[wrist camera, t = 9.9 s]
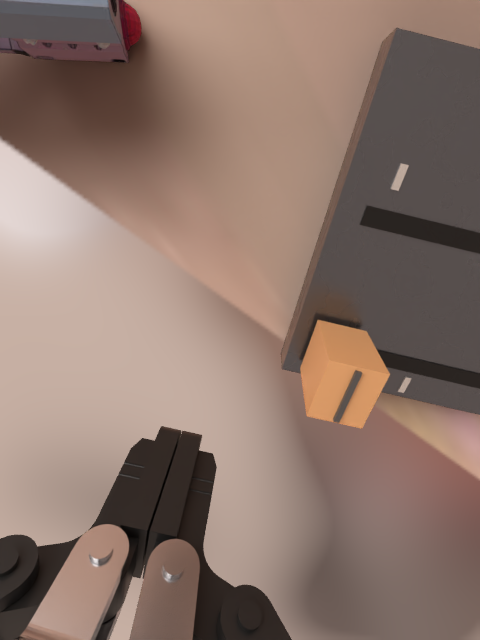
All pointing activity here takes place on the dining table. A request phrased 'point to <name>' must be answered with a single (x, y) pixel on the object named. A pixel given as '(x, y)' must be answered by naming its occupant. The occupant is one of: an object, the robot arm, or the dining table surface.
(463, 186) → the console
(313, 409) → the fader orange
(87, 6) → the toy
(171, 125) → the dining table surface
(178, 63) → the dining table surface
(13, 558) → the robot arm
